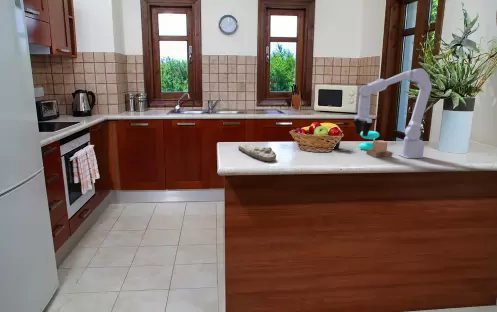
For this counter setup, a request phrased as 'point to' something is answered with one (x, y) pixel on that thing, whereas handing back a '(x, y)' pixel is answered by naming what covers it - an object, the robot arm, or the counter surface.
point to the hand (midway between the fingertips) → (361, 134)
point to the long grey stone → (258, 152)
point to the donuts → (370, 136)
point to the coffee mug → (337, 145)
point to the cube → (380, 146)
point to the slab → (378, 153)
